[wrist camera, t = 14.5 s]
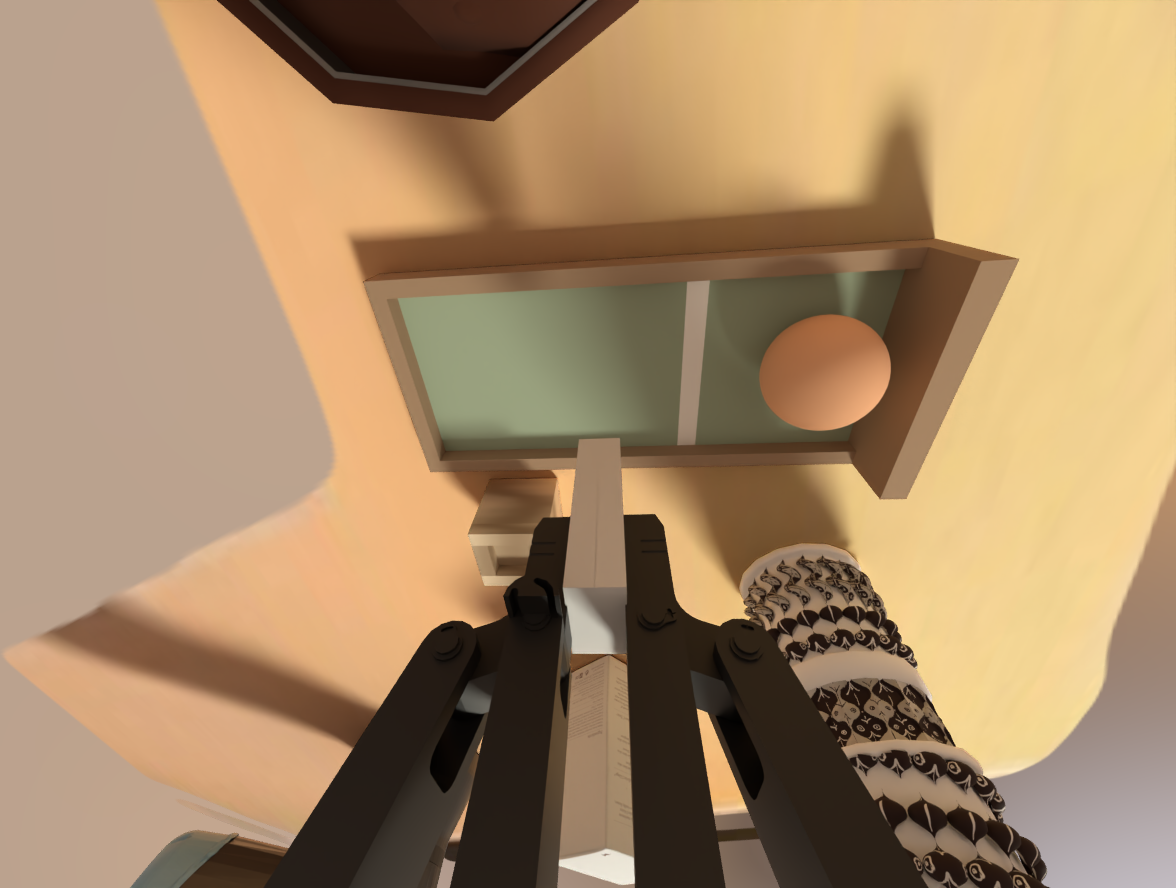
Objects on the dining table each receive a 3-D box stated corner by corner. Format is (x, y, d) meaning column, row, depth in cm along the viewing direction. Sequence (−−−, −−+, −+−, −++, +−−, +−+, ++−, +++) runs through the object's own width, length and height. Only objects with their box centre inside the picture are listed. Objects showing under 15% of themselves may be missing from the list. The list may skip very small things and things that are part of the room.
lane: (439, 456, 26) (410, 505, 22) (380, 273, 20) (326, 299, 16) (861, 446, 24) (906, 498, 20) (935, 238, 18) (1019, 259, 14)
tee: (502, 528, 29) (484, 585, 25) (489, 479, 27) (467, 534, 23) (564, 527, 29) (555, 585, 25) (557, 478, 26) (546, 533, 23)
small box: (562, 675, 40) (542, 863, 29) (609, 652, 37) (606, 850, 27) (619, 706, 43) (620, 888, 32) (667, 687, 40) (686, 878, 30)
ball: (765, 396, 23) (734, 429, 19) (788, 299, 20) (758, 317, 17) (872, 420, 20) (859, 464, 17) (913, 314, 18) (909, 338, 14)
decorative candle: (802, 518, 27) (1384, 1638, 7) (895, 573, 30) (1537, 1522, 9) (707, 589, 32) (876, 1383, 11) (795, 632, 34) (1067, 1350, 14)
